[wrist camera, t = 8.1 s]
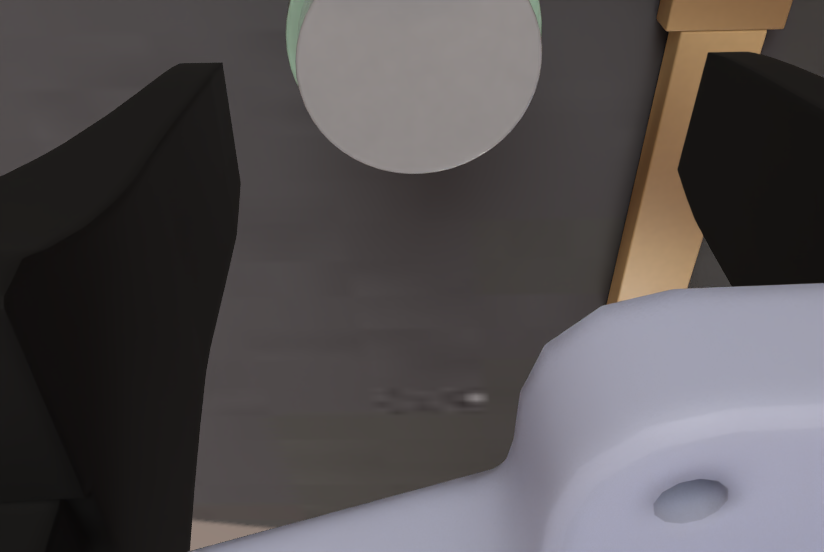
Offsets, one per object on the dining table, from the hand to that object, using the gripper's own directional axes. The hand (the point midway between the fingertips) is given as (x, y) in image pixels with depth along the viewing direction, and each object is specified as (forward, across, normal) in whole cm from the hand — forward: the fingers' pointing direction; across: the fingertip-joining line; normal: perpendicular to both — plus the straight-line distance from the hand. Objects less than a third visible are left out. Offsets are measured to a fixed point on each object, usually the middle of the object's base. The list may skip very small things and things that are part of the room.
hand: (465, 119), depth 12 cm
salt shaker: (+8, +1, 0) cm, 8 cm away
